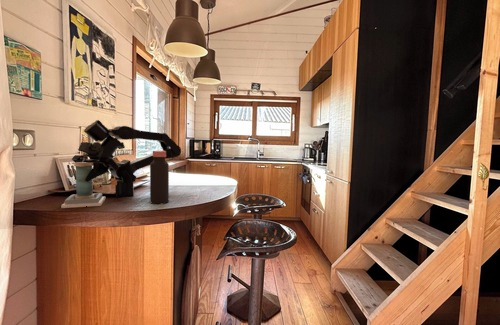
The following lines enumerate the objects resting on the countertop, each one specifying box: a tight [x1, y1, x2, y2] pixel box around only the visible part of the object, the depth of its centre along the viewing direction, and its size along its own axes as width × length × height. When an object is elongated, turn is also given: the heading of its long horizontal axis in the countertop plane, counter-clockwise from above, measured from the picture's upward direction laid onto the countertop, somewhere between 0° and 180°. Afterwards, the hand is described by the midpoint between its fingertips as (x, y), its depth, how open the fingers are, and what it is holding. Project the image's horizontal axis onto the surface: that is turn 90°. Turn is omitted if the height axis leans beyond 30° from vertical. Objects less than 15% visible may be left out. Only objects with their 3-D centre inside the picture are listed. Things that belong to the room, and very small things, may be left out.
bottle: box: [149, 150, 170, 205], centre depth 99 cm, size 7×7×20 cm
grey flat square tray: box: [61, 192, 106, 209], centre depth 95 cm, size 12×12×2 cm
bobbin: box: [73, 162, 95, 199], centre depth 95 cm, size 6×6×13 cm
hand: (80, 180), depth 93 cm, fingers closed on bobbin, 5 cm apart
